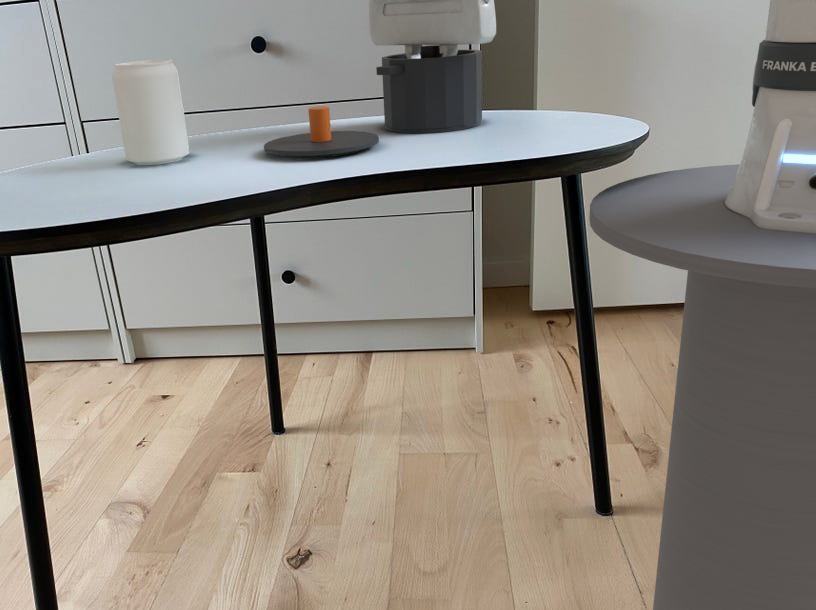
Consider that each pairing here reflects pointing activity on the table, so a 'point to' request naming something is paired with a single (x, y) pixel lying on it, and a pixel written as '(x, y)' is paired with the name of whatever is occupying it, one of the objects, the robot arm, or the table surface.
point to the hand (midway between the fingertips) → (431, 79)
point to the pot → (432, 92)
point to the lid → (321, 139)
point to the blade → (430, 51)
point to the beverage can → (150, 111)
